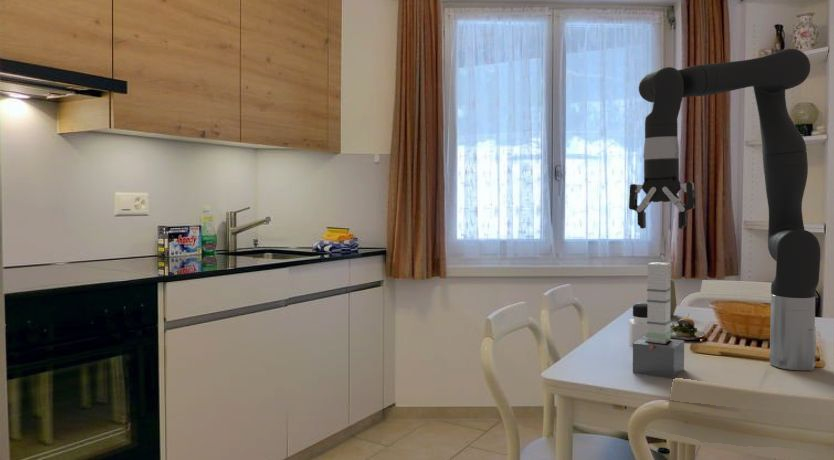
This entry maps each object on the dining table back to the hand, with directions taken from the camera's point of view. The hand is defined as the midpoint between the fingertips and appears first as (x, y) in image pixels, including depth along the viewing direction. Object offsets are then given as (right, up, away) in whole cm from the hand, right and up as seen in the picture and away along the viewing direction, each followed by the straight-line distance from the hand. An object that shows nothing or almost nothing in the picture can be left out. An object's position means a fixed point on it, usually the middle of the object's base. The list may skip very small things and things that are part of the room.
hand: (661, 228), depth 149 cm
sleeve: (-1, -34, 0) cm, 34 cm away
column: (-1, -26, 0) cm, 26 cm away
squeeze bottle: (+28, -30, +72) cm, 83 cm away
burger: (+21, -32, +39) cm, 54 cm away
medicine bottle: (+6, -33, +28) cm, 43 cm away
